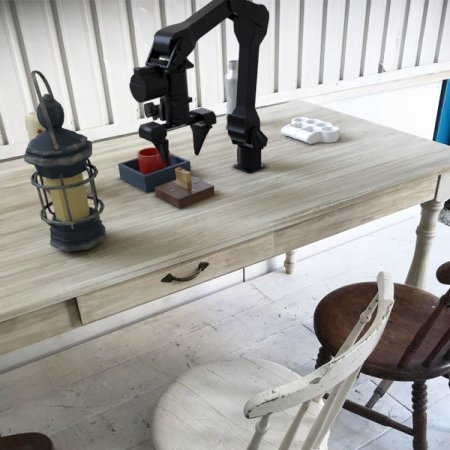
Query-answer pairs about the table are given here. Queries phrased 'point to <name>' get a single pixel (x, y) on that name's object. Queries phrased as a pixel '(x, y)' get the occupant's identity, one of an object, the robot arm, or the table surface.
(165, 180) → the dark blue tray
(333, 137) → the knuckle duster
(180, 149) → the table surface
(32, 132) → the food model
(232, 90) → the plastic bottle
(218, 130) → the table surface
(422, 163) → the table surface
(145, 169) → the mug
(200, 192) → the panel
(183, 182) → the tap knob
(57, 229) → the lantern
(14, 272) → the table surface
